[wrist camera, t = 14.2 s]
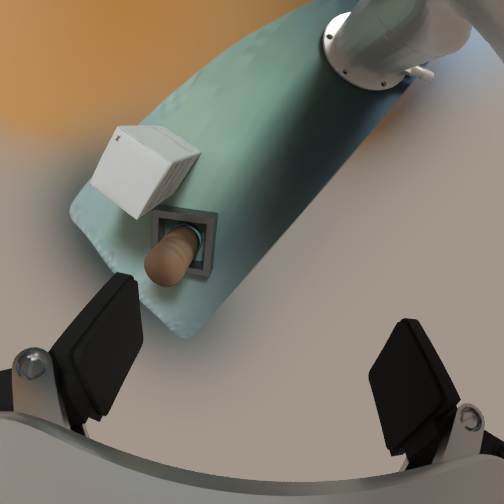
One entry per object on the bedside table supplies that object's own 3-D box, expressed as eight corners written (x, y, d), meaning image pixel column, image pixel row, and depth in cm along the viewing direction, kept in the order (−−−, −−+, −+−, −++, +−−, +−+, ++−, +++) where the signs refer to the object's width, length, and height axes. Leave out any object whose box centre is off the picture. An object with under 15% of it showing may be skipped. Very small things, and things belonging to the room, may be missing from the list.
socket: (218, 213, 39) (214, 218, 36) (212, 269, 42) (209, 277, 40) (158, 205, 39) (152, 209, 36) (157, 259, 42) (152, 266, 40)
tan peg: (203, 224, 39) (183, 252, 30) (201, 255, 41) (182, 290, 32) (171, 219, 39) (143, 245, 30) (170, 250, 41) (145, 282, 32)
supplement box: (136, 166, 36) (86, 183, 25) (162, 124, 34) (116, 123, 22) (174, 195, 38) (136, 222, 26) (203, 152, 35) (172, 162, 24)
